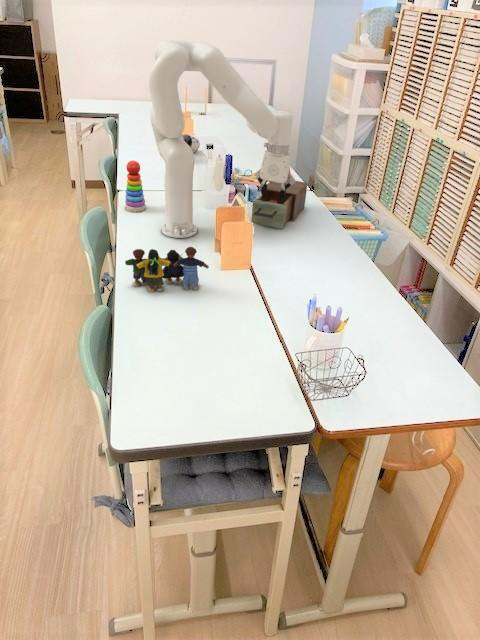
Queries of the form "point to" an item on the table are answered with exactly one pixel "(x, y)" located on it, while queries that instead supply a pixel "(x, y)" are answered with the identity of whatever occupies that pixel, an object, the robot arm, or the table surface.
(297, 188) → the cabinet
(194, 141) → the paint bucket
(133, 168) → the stacking toy
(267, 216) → the drawer
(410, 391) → the table surface
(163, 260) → the doll family
